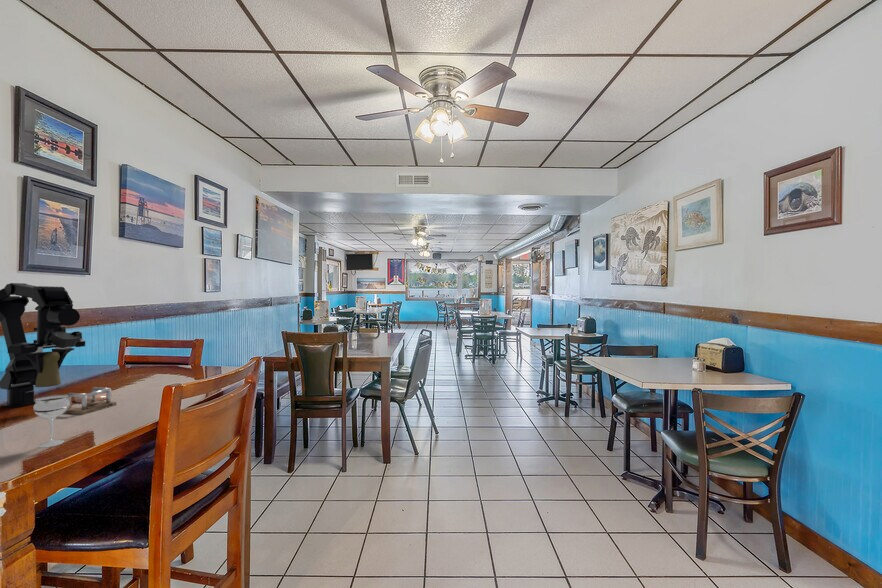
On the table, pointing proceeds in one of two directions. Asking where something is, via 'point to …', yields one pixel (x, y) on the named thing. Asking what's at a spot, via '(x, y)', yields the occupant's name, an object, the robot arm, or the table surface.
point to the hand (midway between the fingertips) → (48, 371)
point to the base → (94, 407)
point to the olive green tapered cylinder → (49, 371)
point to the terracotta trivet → (98, 398)
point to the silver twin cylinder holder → (93, 394)
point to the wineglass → (51, 412)
